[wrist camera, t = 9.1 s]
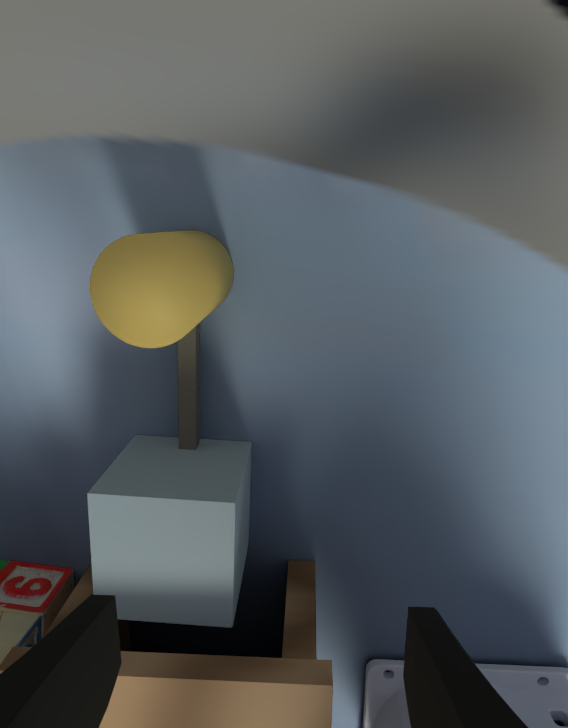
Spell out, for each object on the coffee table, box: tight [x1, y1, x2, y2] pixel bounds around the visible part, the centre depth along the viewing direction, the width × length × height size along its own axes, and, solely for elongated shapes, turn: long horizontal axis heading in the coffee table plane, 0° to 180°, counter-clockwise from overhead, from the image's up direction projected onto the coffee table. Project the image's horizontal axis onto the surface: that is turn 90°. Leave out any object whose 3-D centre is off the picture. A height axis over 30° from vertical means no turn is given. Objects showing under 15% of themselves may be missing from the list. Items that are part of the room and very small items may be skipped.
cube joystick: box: [87, 230, 252, 628], centre depth 19 cm, size 5×14×6 cm, turn 177°
